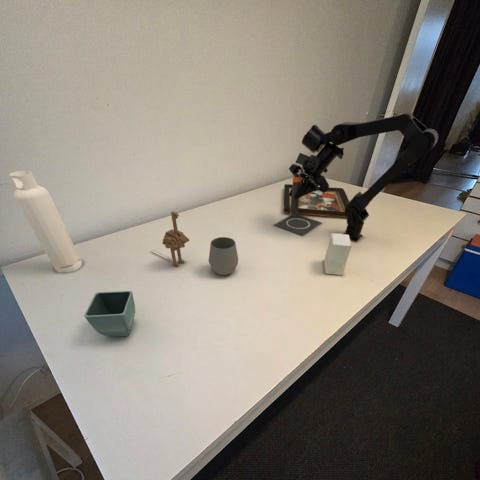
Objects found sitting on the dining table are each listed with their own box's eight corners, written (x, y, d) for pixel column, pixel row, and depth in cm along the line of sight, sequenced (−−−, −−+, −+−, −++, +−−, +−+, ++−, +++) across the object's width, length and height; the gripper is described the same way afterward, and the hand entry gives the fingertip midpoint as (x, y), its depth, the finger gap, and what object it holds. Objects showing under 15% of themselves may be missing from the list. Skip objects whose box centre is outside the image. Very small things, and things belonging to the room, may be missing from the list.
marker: (292, 211, 105) (296, 176, 96) (299, 213, 103) (303, 177, 94) (287, 214, 103) (291, 178, 94) (294, 216, 102) (298, 180, 93)
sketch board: (294, 214, 120) (294, 213, 120) (321, 223, 113) (321, 222, 113) (273, 225, 111) (273, 224, 111) (302, 235, 105) (302, 234, 104)
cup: (216, 281, 82) (214, 253, 75) (205, 267, 88) (202, 239, 81) (243, 274, 85) (243, 246, 78) (230, 260, 91) (230, 233, 84)
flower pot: (107, 318, 70) (95, 291, 63) (141, 316, 70) (132, 290, 64) (98, 343, 63) (82, 316, 57) (135, 341, 64) (124, 314, 58)
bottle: (87, 262, 89) (45, 170, 69) (69, 274, 83) (18, 179, 64) (68, 257, 91) (22, 167, 71) (49, 270, 85) (-6, 175, 66)
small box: (341, 275, 85) (352, 246, 78) (324, 273, 86) (332, 244, 79) (340, 262, 91) (349, 234, 84) (323, 260, 92) (331, 232, 84)
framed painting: (362, 219, 117) (365, 212, 115) (284, 217, 116) (285, 210, 114) (340, 190, 144) (341, 184, 142) (276, 189, 144) (277, 183, 142)
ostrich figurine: (193, 263, 89) (186, 210, 77) (178, 272, 85) (169, 217, 73) (159, 248, 96) (148, 197, 84) (145, 255, 92) (130, 203, 80)
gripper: (297, 138, 94) (267, 175, 99) (330, 148, 82) (295, 190, 87) (310, 160, 102) (283, 194, 107) (343, 173, 90) (310, 211, 94)
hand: (292, 197), depth 98 cm, fingers closed on marker, 3 cm apart
